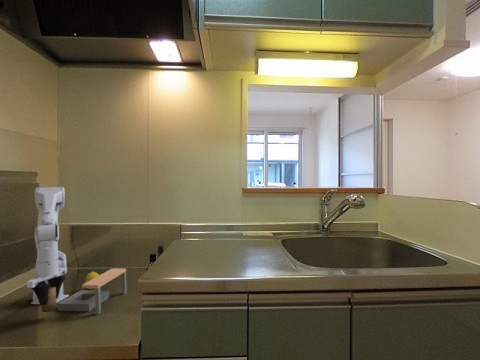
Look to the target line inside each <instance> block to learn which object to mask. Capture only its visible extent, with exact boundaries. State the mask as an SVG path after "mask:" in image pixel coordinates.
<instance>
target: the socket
mask: <svg viewBox="0 0 480 360" xmlns="http://www.w3.org/2000/svg"><path fill="white" fill-rule="evenodd" d="M108 298H110V290H101V304H102V303H103V302H104V301H107V300H108ZM93 309H96V305H95V290H90V289H87V290H85V289H84V290H83V289H80V290H79V291H77V292H75V293H74V294H72V295H71V296H70V295H69V296H68V297H66V298H65V299H63V300H61V301H59V302H57V311H58V312H59V311H61V312H62V311H64V312H90V311H92V310H93Z"/></svg>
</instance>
